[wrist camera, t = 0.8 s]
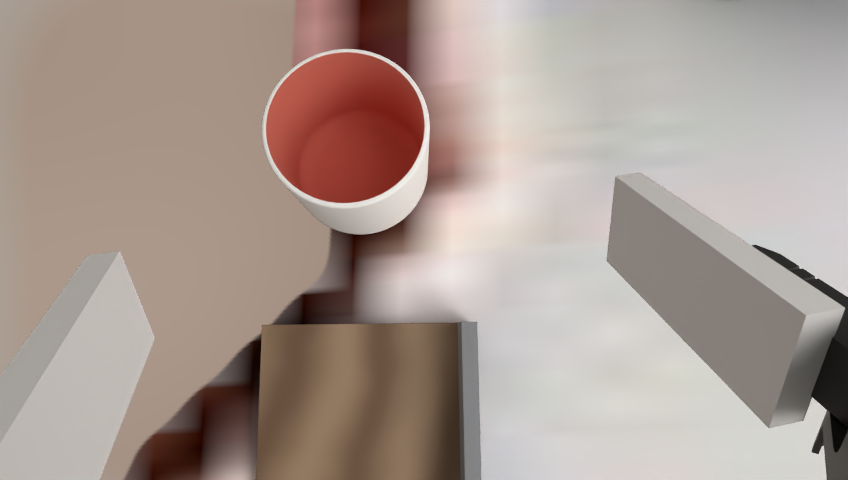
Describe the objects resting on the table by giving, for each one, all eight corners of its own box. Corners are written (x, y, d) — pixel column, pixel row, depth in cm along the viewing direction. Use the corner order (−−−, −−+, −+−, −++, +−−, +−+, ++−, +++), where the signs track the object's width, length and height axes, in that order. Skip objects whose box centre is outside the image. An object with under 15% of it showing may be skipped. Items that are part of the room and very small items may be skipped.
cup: (413, 248, 41) (411, 223, 31) (285, 223, 41) (242, 190, 31) (438, 125, 43) (443, 64, 33) (314, 102, 43) (283, 34, 33)
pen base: (469, 322, 40) (471, 322, 39) (477, 637, 37) (479, 647, 35) (266, 325, 40) (261, 324, 39) (254, 640, 36) (249, 650, 35)
